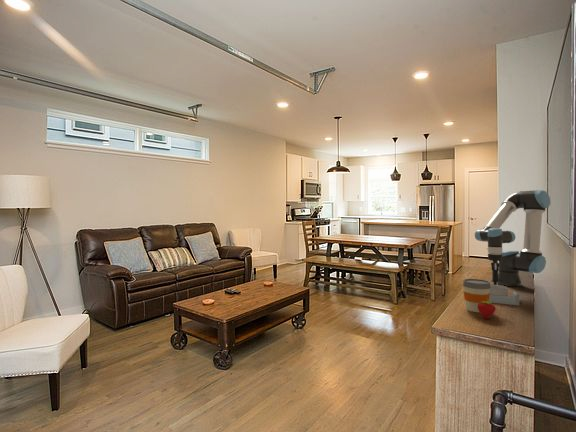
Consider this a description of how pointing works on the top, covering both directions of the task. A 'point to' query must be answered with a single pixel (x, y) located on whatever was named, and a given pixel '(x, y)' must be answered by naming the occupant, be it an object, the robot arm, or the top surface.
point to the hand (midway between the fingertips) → (495, 292)
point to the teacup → (498, 290)
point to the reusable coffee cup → (475, 293)
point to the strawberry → (486, 309)
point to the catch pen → (505, 299)
